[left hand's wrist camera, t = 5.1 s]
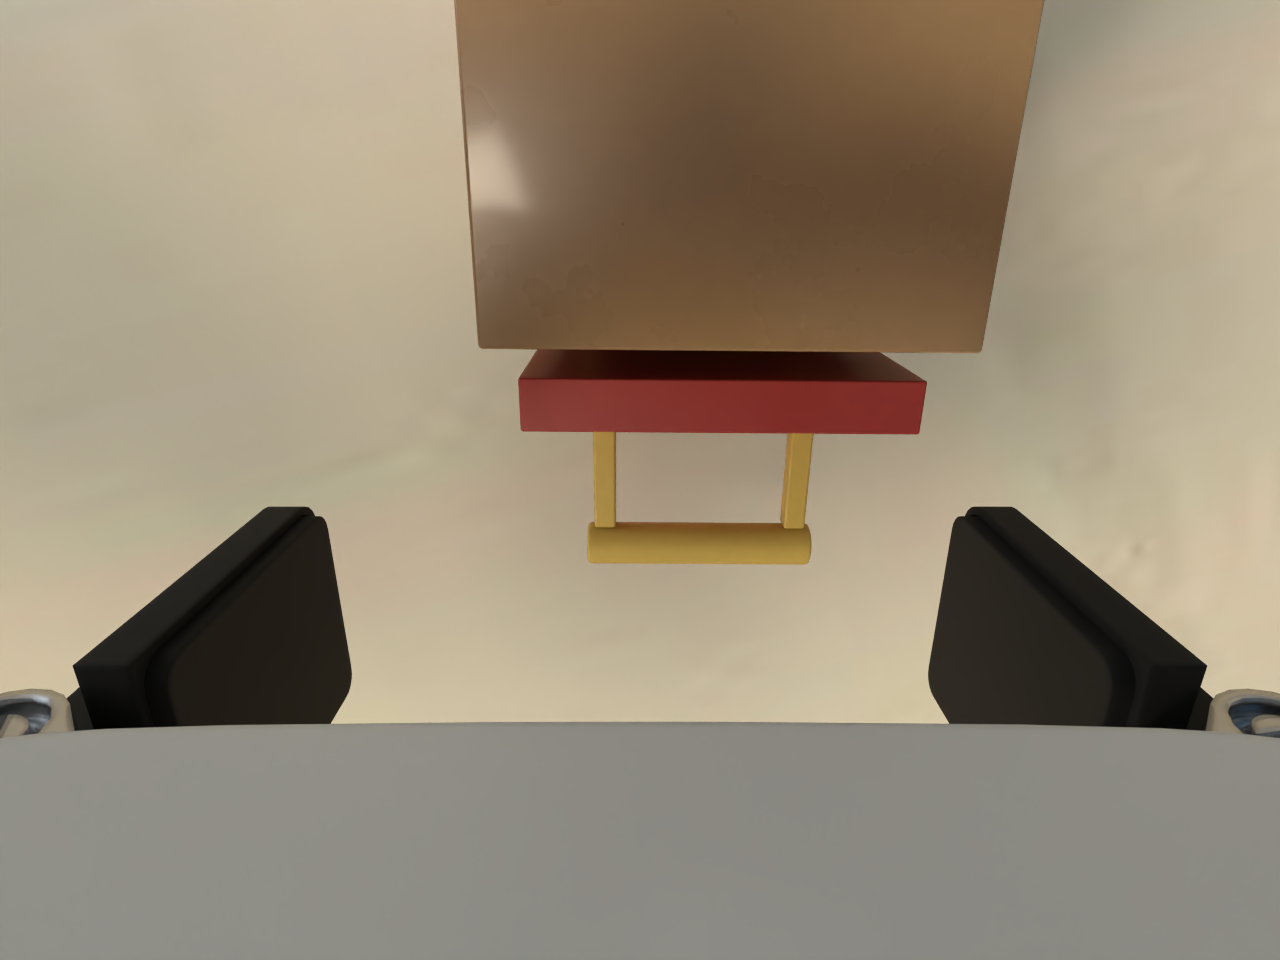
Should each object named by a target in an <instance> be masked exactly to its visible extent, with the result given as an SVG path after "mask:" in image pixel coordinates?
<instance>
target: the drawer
mask: <svg viewBox="0 0 1280 960" xmlns="http://www.w3.org/2000/svg"><path fill="white" fill-rule="evenodd" d="M518 385H519V405H520V424H521V431H541V432H593V433H594V506H595V522H591V523H589V526H588V560H589V562H590V563H641V564H807V563H808V562H809V559H810V555H811V534H810V530H809V527H808V525H807V524H804V522H805V512H806V502H807V492H808V482H809V472H810V462H811V452H812V442H813V434H919V431H920V424H921V418H922V411H923V405H924V398H925V392H926V385H927V382H926V381H925V380H923V379H921V378H920V377H918V376H917V375H915V374H913V373H912V372H910V371H909V370H907V369H905V368H904V367H902V366H901V365H899V364H898V363H896V362H894V361H893V360H891V359H890V358H888V357H886V356H885V355H883V354H882V353H880V352H794V351H678V350H562V349H538V350H537V351H536V353H535V354H534V356H533V357H532V359H531V360H530V362H529V363H528V365H527V366H526V368H525V370H524V371H523V373H522V374H521V376H520V377H519V379H518ZM616 432H673V433H788V436H787V448H786V459H785V471H784V482H783V494H782V505H781V517H780V520H781V523H670V522H616Z"/></svg>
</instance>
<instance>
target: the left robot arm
mask: <svg viewBox="0 0 1280 960" xmlns="http://www.w3.org/2000/svg"><path fill="white" fill-rule="evenodd" d="M73 668H74V671H75V674H76V677H77V680H78V683H79V686H80V687H79V688H78V689H77V690H76V691H75V692H74V693H72V694H71V695H70V696H69V697H68V698H67V699H66V697H65V696H64V695H63V694H60V693H58V692H55V691H53V690H45V689H26V690H18V691H10V692H5V693H1V694H0V960H1280V694H1279V693H1275V692H1270V691H1262V690H1254V689H1235V690H1227V691H1225V692H1222V693H1220V694H1217V695H1216V696H1215V697H1214V699H1213V698H1212V697H1211V696H1210V695H1209V694H1208V693H1206V692H1205V691H1204V690H1203V689H1202V688H1201V687H1200V686H1201V683H1202V680H1203V677H1204V674H1205V671H1206V668H1207V665H1206V664H1205V663H1203V662H1202V661H1201V660H1200V659H1198V658H1197V657H1196V656H1195V655H1194V654H1192V653H1191V652H1190V651H1189V650H1187V649H1186V648H1185V647H1184V646H1183V645H1181V644H1180V643H1179V642H1178V641H1176V640H1175V639H1174V638H1173V637H1172V636H1170V635H1169V634H1168V633H1167V632H1166V631H1164V630H1163V629H1162V628H1161V627H1159V626H1158V625H1157V624H1156V623H1155V622H1153V621H1152V620H1151V619H1150V618H1148V617H1147V616H1146V615H1145V614H1144V613H1142V612H1141V611H1140V610H1139V609H1137V608H1136V607H1135V606H1134V605H1133V604H1131V603H1130V602H1129V601H1128V600H1126V599H1125V598H1124V597H1123V596H1122V595H1120V594H1119V593H1118V592H1117V591H1115V590H1114V589H1113V588H1112V587H1111V586H1109V585H1108V584H1107V583H1106V582H1105V581H1103V580H1102V579H1101V578H1100V577H1098V576H1097V575H1096V574H1095V573H1094V572H1092V571H1091V570H1090V569H1089V568H1087V567H1086V566H1085V565H1084V564H1083V563H1081V562H1080V561H1079V560H1078V559H1076V558H1075V557H1074V556H1073V555H1072V554H1070V553H1069V552H1068V551H1067V550H1065V549H1064V548H1063V547H1062V546H1061V545H1059V544H1058V543H1057V542H1056V541H1055V540H1053V539H1052V538H1051V537H1050V536H1048V535H1047V534H1046V533H1045V532H1044V531H1042V530H1041V529H1040V528H1039V527H1037V526H1036V525H1035V524H1034V523H1033V522H1031V521H1030V520H1029V519H1028V518H1026V517H1025V516H1024V515H1023V514H1022V513H1020V512H1019V511H1018V510H1017V509H1015V508H1013V507H971V508H970V509H969V510H968V511H967V513H966V515H965V516H960V517H958V518H956V520H955V522H954V524H953V528H952V533H951V539H950V545H949V551H948V557H947V562H946V568H945V574H944V580H943V586H942V592H941V598H940V604H939V610H938V616H937V622H936V628H935V634H934V640H933V646H932V652H931V658H930V663H929V671H928V679H929V686H930V689H931V692H932V694H933V697H934V698H935V700H936V702H937V703H938V705H939V707H940V708H941V710H942V712H943V713H944V715H945V717H946V719H947V720H948V722H949V724H900V723H782V722H470V723H376V724H331V722H332V720H333V719H334V717H335V715H336V713H337V712H338V710H339V708H340V707H341V705H342V703H343V702H344V700H345V698H346V697H347V694H348V692H349V689H350V686H351V679H352V671H351V663H350V657H349V652H348V646H347V640H346V634H345V628H344V622H343V616H342V610H341V604H340V598H339V592H338V586H337V580H336V574H335V568H334V562H333V557H332V551H331V545H330V539H329V533H328V528H327V524H326V522H325V520H324V518H322V517H320V516H315V515H314V513H313V511H312V510H311V509H310V508H309V507H267V508H265V509H263V510H262V511H261V512H260V513H258V514H257V515H256V516H255V517H254V518H252V519H251V520H250V521H249V522H247V523H246V524H245V525H244V526H243V527H241V528H240V529H239V530H238V531H236V532H235V533H234V534H233V535H232V536H230V537H229V538H228V539H227V540H225V541H224V542H223V543H222V544H221V545H219V546H218V547H217V548H216V549H215V550H213V551H212V552H211V553H210V554H208V555H207V556H206V557H205V558H204V559H202V560H201V561H200V562H199V563H197V564H196V565H195V566H194V567H193V568H191V569H190V570H189V571H188V572H186V573H185V574H184V575H183V576H182V577H180V578H179V579H178V580H177V581H175V582H174V583H173V584H172V585H171V586H169V587H168V588H167V589H166V590H165V591H163V592H162V593H161V594H160V595H158V596H157V597H156V598H155V599H154V600H152V601H151V602H150V603H149V604H147V605H146V606H145V607H144V608H143V609H141V610H140V611H139V612H138V613H136V614H135V615H134V616H133V617H132V618H130V619H129V620H128V621H127V622H125V623H124V624H123V625H122V626H121V627H119V628H118V629H117V630H116V631H114V632H113V633H112V634H111V635H110V636H108V637H107V638H106V639H105V640H104V641H102V642H101V643H100V644H99V645H97V646H96V647H95V648H94V649H93V650H91V651H90V652H89V653H88V654H86V655H85V656H84V657H83V658H82V659H80V660H79V661H78V662H77V663H75V664H74V665H73Z"/></svg>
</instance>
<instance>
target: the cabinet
mask: <svg viewBox="0 0 1280 960" xmlns="http://www.w3.org/2000/svg"><path fill="white" fill-rule="evenodd" d="M1043 4H1044V0H454V5H455V19H456V33H457V48H458V62H459V76H460V91H461V105H462V119H463V134H464V148H465V162H466V177H467V191H468V205H469V219H470V234H471V248H472V262H473V277H474V291H475V305H476V320H477V334H478V345H479V347H480V348H482V349H562V350H678V351H794V352H910V353H979V352H981V350H982V345H983V340H984V334H985V329H986V323H987V317H988V312H989V306H990V301H991V295H992V289H993V284H994V278H995V273H996V267H997V261H998V256H999V250H1000V245H1001V239H1002V233H1003V228H1004V222H1005V217H1006V211H1007V205H1008V200H1009V194H1010V189H1011V183H1012V177H1013V172H1014V166H1015V161H1016V155H1017V149H1018V144H1019V138H1020V133H1021V127H1022V121H1023V116H1024V110H1025V105H1026V99H1027V93H1028V88H1029V82H1030V77H1031V71H1032V65H1033V60H1034V54H1035V49H1036V43H1037V37H1038V32H1039V26H1040V21H1041V15H1042V9H1043Z"/></svg>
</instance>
